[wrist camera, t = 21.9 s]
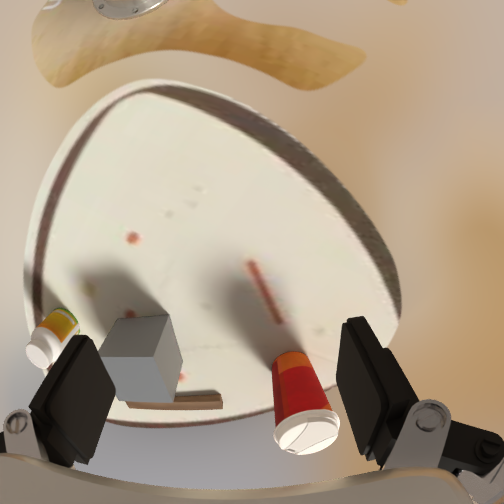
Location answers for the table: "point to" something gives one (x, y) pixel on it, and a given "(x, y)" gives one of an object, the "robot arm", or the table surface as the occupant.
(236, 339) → the table surface
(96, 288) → the table surface
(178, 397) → the long brown rectangular bar
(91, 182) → the table surface
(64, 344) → the supplement bottle
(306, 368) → the paper cup
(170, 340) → the grey matte cube
